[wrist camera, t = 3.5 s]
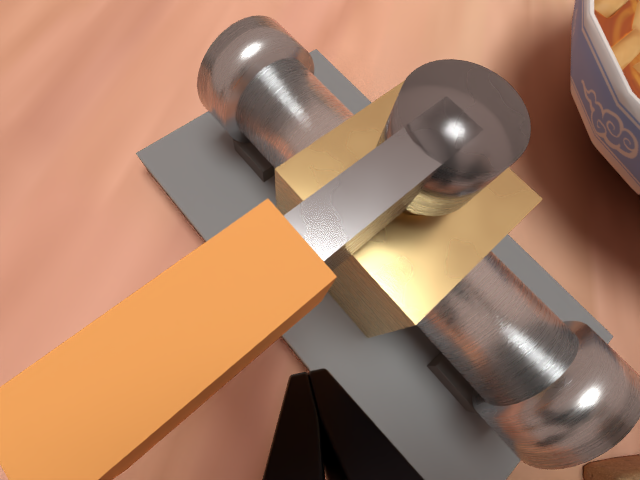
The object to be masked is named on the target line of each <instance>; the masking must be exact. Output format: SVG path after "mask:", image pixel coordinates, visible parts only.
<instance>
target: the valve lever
mask: <svg viewBox="0 0 640 480" xmlns="http://www.w3.org/2000/svg"><path fill="white" fill-rule="evenodd" d="M530 133H531V125H530V118H529V114H528V111H527V109H526V106H525V104H524V102H523V100H522V99H521V97H520V96H519V94H518V93H517V92H516V91H515V89H514V88H513V87H512V86H511V85H510V84H509V83H508V82H507V81H505V80H504V79H503V78H502V77H500V76H499V75H497V74H496V73H494V72H493V71H491V70H489V69H487V68H485V67H483V66H480V65H478V64H475V63H471V62H468V61H462V60H453V59H449V60H437V61H433V62H429V63H427V64H424V65H422V66H420V67H419V68H417V69H416V70H414V71H413V72H412V73H411V74H410V75H409V76H408V77H407V78H406V80H405V81H404V83H403V85H402V87H401V89H400V92H399V94H398V96H397V99H396V101H395V103H394V106H393V108H392V110H391V113H390V115H389V117H388V120H387V122H386V124H385V127H384V129H383V131H382V134H381V136H380V138H379V141H378V143H377V145H376V148H375V149H373V150H372V151H371V152H369V153H368V154H367V155H365V156H364V157H363V158H361V159H360V160H358V161H357V162H356V163H354V164H353V165H352V166H350V167H349V168H348V169H346V170H345V171H343V172H342V173H341V174H339V175H338V176H337V177H335V178H334V179H333V180H331V181H330V182H329V183H327V184H326V185H324V186H323V187H322V188H320V189H319V190H318V191H316V192H315V193H314V194H312V195H311V196H309V197H308V198H307V199H305V200H304V201H303V202H301V203H300V204H299V205H297V206H296V207H295V208H293V209H292V210H290V211H289V212H288V213H286V214H285V215H284V216H283V215H282V214H281V212H280V211H279V210H278V209H277V208H276V207H275V206H274V204H273V203H272V202H271V201H270V200H269V199H266V200H265V201H263V202H262V203H260V204H259V205H258V206H256V207H255V208H253V209H252V210H251V211H249V212H248V213H246V214H245V215H243V216H242V217H241V218H239V219H238V220H236V221H235V222H234V223H232V224H231V225H229V226H228V227H226V228H225V229H224V230H222V231H221V232H219V233H218V234H217V235H215V236H214V237H212V238H211V239H209V240H208V241H207V242H205V243H204V244H202V245H201V246H200V247H198V248H197V249H195V250H194V251H192V252H191V253H190V254H188V255H187V256H185V257H184V258H183V259H181V260H180V261H178V262H177V263H175V264H174V265H173V266H171V267H170V268H168V269H167V270H165V271H164V272H163V273H161V274H160V275H158V276H157V277H156V278H154V279H153V280H151V281H150V282H148V283H147V284H146V285H144V286H143V287H141V288H140V289H139V290H137V291H136V292H134V293H133V294H131V295H130V296H129V297H127V298H126V299H124V300H123V301H122V302H120V303H119V304H117V305H116V306H114V307H113V308H112V309H110V310H109V311H107V312H106V313H105V314H103V315H102V316H100V317H99V318H97V319H96V320H95V321H93V322H92V323H90V324H89V325H88V326H86V327H85V328H83V329H82V330H80V331H79V332H78V333H76V334H75V335H73V336H72V337H71V338H69V339H68V340H66V341H65V342H63V343H62V344H61V345H59V346H58V347H56V348H55V349H54V350H52V351H51V352H49V353H48V354H46V355H45V356H44V357H42V358H41V359H39V360H38V361H36V362H35V363H34V364H32V365H31V366H29V367H28V368H27V369H25V370H24V371H22V372H21V373H19V374H18V375H17V376H15V377H14V378H12V379H11V380H10V381H8V382H7V383H5V384H4V385H2V386H1V387H0V465H1V467H2V468H3V470H4V472H5V474H6V476H7V477H8V479H9V480H112V479H114V478H115V477H116V476H118V475H119V474H121V473H122V472H124V471H125V470H127V469H128V468H129V467H130V466H131V465H132V464H133V463H135V462H136V461H137V460H138V459H139V458H140V457H142V456H143V455H144V454H145V453H146V452H147V451H149V450H150V449H151V448H152V447H153V446H154V445H156V444H157V443H158V442H159V441H160V440H161V439H162V438H164V437H165V436H166V435H167V434H168V433H169V432H171V431H172V430H173V429H174V428H175V427H176V426H178V425H179V424H180V423H181V422H182V421H183V420H185V419H186V418H187V417H188V416H189V415H190V414H191V413H193V412H194V411H195V410H196V409H197V408H198V407H200V406H201V405H202V404H203V403H204V402H205V401H207V400H208V399H209V398H210V397H211V396H212V395H214V394H215V393H216V392H217V391H218V390H219V389H220V388H222V387H223V386H224V385H225V384H226V383H227V382H229V381H230V380H231V379H232V378H233V377H234V376H236V375H237V374H238V373H239V372H240V371H241V370H243V369H244V368H245V367H246V366H247V365H248V364H249V363H251V362H252V361H253V360H254V359H255V358H256V357H258V356H259V355H260V354H261V353H262V352H263V351H265V350H266V349H267V348H268V347H269V346H270V345H272V344H273V343H274V342H275V341H276V340H277V339H278V338H280V337H281V336H282V335H283V334H284V333H285V332H287V331H288V330H289V329H290V328H291V327H292V326H294V325H295V324H296V323H297V322H298V321H299V320H301V319H302V318H303V317H304V316H305V315H306V314H307V313H309V312H310V311H311V310H312V309H313V308H314V307H316V306H317V305H318V304H319V303H320V302H321V301H322V300H323V298H324V296H325V295H326V293H327V292H328V290H329V289H330V287H331V285H332V284H333V282H334V281H335V279H336V278H337V276H336V275H335V274H334V273H333V272H332V271H333V270H334V269H335V268H337V267H338V266H339V265H340V264H341V263H342V262H344V261H345V260H346V259H347V258H348V257H350V256H351V255H352V254H353V253H354V252H356V251H357V250H358V249H359V248H360V247H362V246H363V245H364V244H365V243H366V242H368V241H369V240H370V239H371V238H372V237H374V236H375V235H376V234H377V233H378V232H379V231H381V230H382V229H383V228H384V227H385V226H387V225H388V224H389V223H390V222H391V221H393V220H394V219H395V218H396V217H397V216H399V215H400V214H401V213H402V212H403V211H405V210H408V211H411V212H413V213H416V214H420V215H426V216H442V215H446V214H450V213H452V212H455V211H457V210H458V209H460V208H461V207H463V206H464V205H465V204H466V203H468V202H469V201H470V200H471V199H472V198H473V197H475V196H476V195H477V194H478V193H479V192H480V191H482V190H483V189H484V188H485V187H486V186H487V185H488V184H490V183H491V182H492V181H493V180H494V179H495V178H497V177H498V176H499V175H500V174H501V173H502V172H504V171H505V170H506V169H507V168H508V167H509V166H511V165H512V164H513V163H514V162H515V161H516V160H517V159H518V158H519V157H520V156H521V155H522V154H523V152H524V151H525V149H526V147H527V145H528V143H529V139H530Z"/></svg>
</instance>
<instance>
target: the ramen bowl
mask: <svg viewBox="0 0 640 480" xmlns="http://www.w3.org/2000/svg"><path fill="white" fill-rule="evenodd" d="M571 94H572V96H573V99H574V101H575V103H576V106H577V108H578V111H579V113H580V115H581V118H582V120H583V123H584V125H585V127H586V130H587V132H588V135H589V137H590V139H591V142H592V143H593V145H594V146H595V147H596V149H597V150H598V151H599V152H600V153H601V154H602V155H603V156H604V158H605V159H606V160H607V161H608V162H609V163H610V164H611V166H612V167H613V168H614V169H615V170H616V171H617V172H618V173H619V175H620V176H621V177H622V178H623V179H624V180H625V181H626V183H627V184H628V185H629V186H630V187H631V188H632V189H633V190H634V191H635V192H636V193H637V194H639V195H640V0H575V6H574V12H573V19H572V34H571Z"/></svg>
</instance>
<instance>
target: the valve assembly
mask: <svg viewBox="0 0 640 480" xmlns="http://www.w3.org/2000/svg"><path fill="white" fill-rule="evenodd" d="M403 83H404V81H403V82H402V83H400V84H399V85H397V86H396V87H394V88H393V89H392V90H390V91H389V92H387V93H386V94H384V95H383V96H381V97H380V98H378V99H377V100H375V101H374V102H372V103H371V102H370V101H369V100H368V99H367V98H366V97H365V96H364V95H363V94H362V93H361V92H360V91H359V90H358V89H357V88H356V87H355V86H354V85H353V84H352V83H351V82H350V81H349V80H348V79H347V78H346V77H344V76H343V75H342V74H341V73H340V72H339V71H338V70H337V69H336V68H335V67H334V66H333V65H332V64H331V63H330V62H329V61H328V60H327V59H326V58H325V57H324V56H323V55H322V54H321V53H320V52H319V51H318V50H317V49H315V50H314V51H312V52H310V53H308V51H307V50H306V49H304V48H303V47H302V46H301V45H300V44H299V43H298V42H297V41H296V40H295V39H294V38H293V37H292V36H291V35H290V34H289V33H288V32H287V31H286V30H285V29H284V28H283V27H282V26H281V25H280V24H279V23H278V22H276V21H275V20H274V19H272V18H270V17H266V16H251V17H247V18H244V19H242V20H240V21H238V22H236V23H234V24H232V25H231V26H230V27H228V28H227V29H226V30H224V31H223V32H222V33H221V34H220V35H219V36H218V37H217V38H216V40H215V41H214V42H213V43H212V45H211V46H210V48H209V49H208V51H207V53H206V54H205V56H204V58H203V61H202V63H201V66H200V69H199V73H198V80H197V89H198V95H199V98H200V100H201V102H202V104H203V106H204V107H205V108H206V109H207V110H208V112H206V113H205V114H203V115H201V116H199V117H198V118H196V119H194V120H193V121H191V122H189V123H187V124H186V125H184V126H182V127H180V128H179V129H177V130H175V131H173V132H172V133H170V134H168V135H167V136H165V137H163V138H161V139H160V140H158V141H156V142H154V143H153V144H151V145H149V146H148V147H146V148H144V149H142V150H141V151H139V152H137V153H136V154H137V156H138V157H139V159H140V160H141V161H142V163H143V164H144V166H145V167H146V168H147V170H148V171H149V172H150V173H151V175H152V176H153V177H154V178H155V180H156V181H157V182H158V183H159V185H160V186H161V187H162V188H163V190H164V191H165V192H166V193H167V195H168V196H169V197H170V198H171V199H172V201H173V202H174V203H175V204H176V206H177V207H178V208H179V209H180V211H181V212H182V213H183V214H184V216H185V217H186V218H187V219H188V221H189V222H190V223H191V224H192V226H193V227H194V228H195V229H196V231H197V232H198V233H199V234H200V236H201V237H202V238H203V239H204V241H205V242H207V241H208V240H209V239H211V238H212V237H214V236H215V235H217V234H218V233H219V232H221V231H222V230H224V229H225V228H226V227H228V226H229V225H231V224H232V223H234V222H235V221H236V220H238V219H239V218H241V217H242V216H243V215H245V214H246V213H248V212H249V211H251V210H252V209H253V208H255V207H256V206H258V205H259V204H260V203H262V202H263V201H265V200H266V199H269V200H270V201H271V202H272V203H273V204H274V206H275V207H276V208H277V209H278V210H279V211H280V212H281V214H282V215H283V216H284V215H285V214H286V213H288V212H289V211H290V210H292V209H293V208H295V207H296V206H297V205H299V204H300V203H301V202H303V201H304V200H305V199H307V198H308V197H309V196H311V195H312V194H314V193H315V192H316V191H318V190H319V189H320V188H322V187H323V186H324V185H326V184H327V183H329V182H330V181H331V180H333V179H334V178H335V177H337V176H338V175H339V174H341V173H342V172H343V171H345V170H346V169H348V168H349V167H350V166H352V165H353V164H354V163H356V162H357V161H358V160H360V159H361V158H363V157H364V156H365V155H367V154H368V153H369V152H371V151H372V150H373V149H375V148H376V145H377V143H378V141H379V138H380V136H381V134H382V131H383V129H384V127H385V124H386V122H387V120H388V117H389V115H390V113H391V110H392V108H393V106H394V103H395V101H396V99H397V96H398V94H399V92H400V89H401V87H402V85H403ZM542 200H543V199H542V198H541V197H540V196H539V195H538V194H537V193H536V192H535V191H534V190H533V189H531V188H530V187H529V186H528V185H527V184H526V183H525V182H524V181H523V180H522V179H521V178H519V177H518V176H517V175H516V174H515V173H514V172H513V171H512V170H511V169H510V168H509V167H508V168H507V169H506V170H505V171H504V172H502V173H501V174H500V175H499V176H498V177H497V178H495V179H494V180H493V181H492V182H491V183H490V184H488V185H487V186H486V187H485V188H484V189H483V190H482V191H480V192H479V193H478V194H477V195H476V196H475V197H473V198H472V199H471V200H470V201H469V202H468V203H466V204H465V205H464V206H463V207H461V208H460V209H458V210H457V211H455V212H452V213H450V214H446V215H442V216H426V215H420V214H416V213H413V212H411V211H408V210H405V211H403V212H402V213H401V214H400V215H399V216H397V217H396V218H395V219H394V220H393V221H391V222H390V223H389V224H388V225H387V226H385V227H384V228H383V229H382V230H381V231H379V232H378V233H377V234H376V235H375V236H374V237H372V238H371V239H370V240H369V241H368V242H366V243H365V244H364V245H363V246H362V247H360V248H359V249H358V250H357V251H356V252H354V253H353V254H352V255H351V256H350V257H348V258H347V259H346V260H345V261H344V262H342V263H341V264H340V265H339V266H338V267H337V268H335V269H334V270H333V271H332V272H333V273H334V274H335V275H336V276H337V278H336V279H335V281H334V282H333V284H332V285H331V287H330V289H329V290H328V292H327V293H326V295H325V296H324V298H323V300H322V301H321V302H320V303H319V304H318V305H317V306H316V307H314V308H313V309H312V310H311V311H310V312H309V313H307V314H306V315H305V316H304V317H303V318H302V319H301V320H299V321H298V322H297V323H296V324H295V325H294V326H292V327H291V328H290V329H289V330H288V331H287V332H285V333H284V334H283V335H282V337H283V339H284V340H285V341H286V342H287V344H288V345H289V346H290V347H291V349H292V350H293V351H294V352H295V354H296V355H297V356H298V357H299V359H300V360H301V361H302V362H303V364H304V365H305V366H306V367H307V368H308V370H309V371H312V370H317V369H322V368H325V369H327V370H328V371H329V372H330V373H331V375H332V376H333V377H334V378H335V379H336V380H337V381H338V382H339V384H340V385H341V386H342V387H343V388H344V389H345V390H346V392H347V393H348V394H349V395H350V396H351V397H352V398H353V399H354V401H355V402H356V403H357V404H358V405H359V406H360V407H361V408H362V410H363V411H364V412H365V413H366V414H367V415H368V416H369V417H370V419H371V420H372V421H373V422H374V423H375V424H376V425H377V427H378V428H379V429H380V430H381V431H382V432H383V433H384V434H385V436H386V437H387V438H388V439H389V440H390V441H391V442H392V443H393V445H394V446H395V447H396V448H397V449H398V450H399V451H400V452H401V454H402V455H403V456H404V457H405V458H406V459H407V460H408V462H409V463H410V464H411V465H412V466H413V467H414V468H415V469H416V471H417V472H418V473H419V474H420V475H421V476H422V477H423V478H424V480H506V479H507V478H508V476H509V475H510V474H511V472H512V471H513V470H514V468H515V467H516V466H517V464H518V463H519V462H520V460H521V461H522V462H524V463H526V464H528V465H529V466H532V467H536V468H541V469H563V468H568V467H573V466H576V465H579V464H582V463H585V462H587V461H590V460H592V459H594V458H596V457H598V456H600V455H602V454H603V453H605V452H607V451H608V450H609V449H611V448H612V447H614V446H615V445H616V444H617V443H619V442H620V441H621V440H622V439H623V438H624V437H625V436H626V435H627V434H628V433H629V432H630V431H631V429H632V428H633V427H634V425H635V424H636V423H637V421H638V419H639V417H640V376H639V375H638V373H637V372H636V371H635V370H633V369H632V368H631V367H630V366H629V365H628V364H627V363H626V362H625V361H624V360H623V359H622V358H621V357H620V356H619V355H618V354H617V353H616V352H615V351H614V350H613V349H612V348H611V347H610V346H609V345H608V343H609V342H610V340H611V339H612V338H613V336H612V335H611V334H610V333H609V332H608V331H607V330H606V329H605V328H604V327H603V326H602V325H601V324H600V323H599V322H598V321H597V320H596V319H595V318H594V317H593V316H592V315H591V314H590V313H589V312H588V311H587V310H586V309H584V308H583V307H582V306H581V305H580V304H579V303H578V302H577V301H576V300H575V299H574V298H573V297H572V296H571V295H570V294H569V293H568V292H567V291H566V290H565V289H564V288H563V287H562V286H561V285H560V284H559V283H558V282H557V281H556V280H554V279H553V278H552V277H551V276H550V275H549V274H548V273H547V272H546V271H545V270H544V269H543V268H542V267H541V266H540V265H539V264H538V263H537V262H536V261H535V260H534V259H533V258H532V257H531V256H530V255H529V254H528V253H527V252H526V251H524V250H523V249H522V248H521V247H520V246H519V245H518V244H517V243H516V242H515V241H514V240H513V239H512V238H511V237H510V236H509V235H508V233H509V232H510V231H511V230H512V229H513V228H514V227H515V226H516V225H517V224H518V223H519V222H520V221H521V220H522V219H523V218H524V217H525V216H526V215H527V214H528V213H529V212H530V211H531V210H532V209H533V208H534V207H535V206H536V205H538V204H539V203H540V202H541V201H542Z"/></svg>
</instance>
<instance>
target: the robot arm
mask: <svg viewBox="0 0 640 480" xmlns="http://www.w3.org/2000/svg"><path fill="white" fill-rule="evenodd" d="M324 470H325V471H324ZM325 474H326V478H327V480H424V478H423V477H422V476H421V475H420V474H419V473H418V472H417V471H416V469H415V468H414V467H413V466H412V465H411V464H410V463H409V462H408V460H407V459H406V458H405V457H404V456H403V455H402V454H401V452H400V451H399V450H398V449H397V448H396V447H395V446H394V445H393V443H392V442H391V441H390V440H389V439H388V438H387V437H386V436H385V434H384V433H383V432H382V431H381V430H380V429H379V428H378V427H377V425H376V424H375V423H374V422H373V421H372V420H371V419H370V417H369V416H368V415H367V414H366V413H365V412H364V411H363V410H362V408H361V407H360V406H359V405H358V404H357V403H356V402H355V401H354V399H353V398H352V397H351V396H350V395H349V394H348V393H347V392H346V390H345V389H344V388H343V387H342V386H341V385H340V384H339V382H338V381H337V380H336V379H335V378H334V377H333V376H332V375H331V373H330V372H329V371H328V370H327V369H325V368H322V369H317V370H312V371H310V372H309V373H306V372H303V373H298V374H293V375H291V376H290V377H289V380H288V384H287V388H286V392H285V395H284V399H283V403H282V407H281V411H280V414H279V418H278V422H277V426H276V430H275V433H274V437H273V441H272V445H271V449H270V453H269V456H268V460H267V464H266V468H265V472H264V475H263V479H262V480H325Z"/></svg>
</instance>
